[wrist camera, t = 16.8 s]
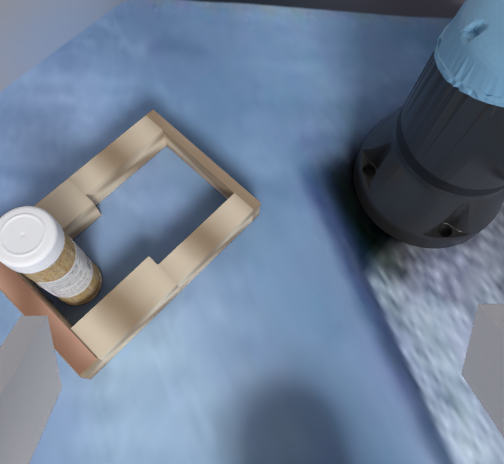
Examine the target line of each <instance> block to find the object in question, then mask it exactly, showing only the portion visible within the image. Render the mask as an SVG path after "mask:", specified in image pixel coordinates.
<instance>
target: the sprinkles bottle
mask: <svg viewBox="0 0 504 464" xmlns="http://www.w3.org/2000/svg"><path fill="white" fill-rule="evenodd" d="M0 262H2V263H3V264H4V265H6V266H7V267H9V268H10V269H12V270H14V271H16V272H19V273H23V274H24V275H26V276H27V277H28V278H29V279H31V280H33V281H34V282H36V283H37V284H38V285H39V286H40V287H42V288H43V289H45V290H46V291H48V292H49V293H51V294H53V295H54V296H57V297H58V298H59V299H60V300H61V301H62V302H64V303H66V304H69V305H82V304H86V303H88V302H90V301H91V300H93V299H94V298H95V297H96V296H97V294H98V293H99V291H100V289H101V286H102V275H101V272H100V270H99V268H98V267H97V266H96V265H95V264H94V263H93V262H91V261H90V259H89V258H88V257H87V255H86V254H85V253H84V252H83V251H82V250H81V249H80V248H79V247H78V245H77V244H76V243H75V242H74V241H73V240H72V239H71V238H70V237H69V236H68V235H66V234H65V233H64V232H63V229H62V227H61V225H60V224H59V223H58V222H57V220H56V219H55V218H54V217H53V216H51V215H50V214H49V213H48V212H47V211H45V210H43V209H41V208H38V207H34V206H22V207H18V208H15V209H12V210H10V211H8V212H7V213H5V214H4V215H3V216H2V217H1V218H0Z"/></svg>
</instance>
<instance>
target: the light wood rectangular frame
mask: <svg viewBox="0 0 504 464" xmlns="http://www.w3.org/2000/svg"><path fill="white" fill-rule="evenodd" d="M165 146H167V147H169V148H170V149H171V150H172V151H173V152H174V153H175V154H176V155H178V156H179V157H180V158H181V159H182V160H183V161H184V162H186V163H187V164H188V165H189V166H190V167H191V168H192V169H193V170H195V171H196V172H197V173H198V174H199V175H200V176H201V177H203V178H204V179H205V180H206V181H207V182H208V183H209V184H210V185H212V186H213V187H214V188H215V189H216V190H217V191H218V192H220V193H221V194H222V195H223V196H224V197H225V198H226V199H227V200H226V201H225V202H224V203H223V204H222V205H221V206H220V207H219V208H218V209H217V210H216V211H215V212H214V213H213V214H212V215H210V216H209V217H208V218H207V219H206V220H205V221H204V222H203V223H202V224H201V225H200V226H199V227H198V228H197V229H196V230H195V231H193V232H192V233H191V234H190V235H189V236H188V237H187V238H186V239H185V240H184V241H183V242H182V243H181V244H180V245H179V246H177V247H176V248H175V249H174V250H173V251H172V252H171V253H170V254H169V255H168V256H167V257H166V258H165V259H164V260H163V261H162V262H160V263H159V264H157V263H155V262H154V261H153V260H152V259H151V258H150V257H149V256H148V257H147V258H146V259H145V260H144V261H143V262H142V263H141V264H140V265H139V266H138V267H137V268H135V269H134V270H133V271H132V272H131V273H130V274H129V275H128V276H127V277H126V278H125V279H124V280H122V281H121V282H120V283H119V284H118V285H117V286H116V287H115V288H114V289H113V290H112V291H111V292H109V293H108V294H107V295H106V296H105V297H104V298H103V299H102V300H101V301H100V302H99V303H98V304H97V305H95V306H94V307H93V308H92V309H91V310H90V311H89V312H88V313H87V314H86V315H85V316H84V317H82V318H81V319H80V320H79V321H78V322H77V323H76V324H75V325H74V326H73V325H72V324H71V323H70V322H69V321H68V320H67V319H66V318H65V317H64V316H63V314H62V313H61V312H60V311H59V310H58V309H57V308H56V307H55V306H54V305H53V304H52V303H51V302H50V301H49V300H48V299H47V297H46V296H45V295H44V294H43V293H42V292H41V291H40V290H39V289H38V288H37V287H36V286H35V285H34V284H33V283H32V282H31V281H30V279H29V278H28V277H27V276H26V275H24V274H23V273H19V272H16V271H14V270H12V269H10V268H9V267H7V266H6V265H4V264H3V263H2V262H0V290H1V291H2V292H3V293H4V294H5V295H6V296H7V298H8V299H9V300H10V301H11V302H12V303H13V304H14V305H15V306H16V307H17V308H18V310H19V311H20V312H21V313H22V314H23V315H24V316H46V315H47V316H48V321H49V326H50V331H51V336H52V340H53V345H54V349H55V350H56V351H57V352H58V353H59V354H60V355H61V356H62V358H63V359H64V360H65V361H66V362H67V363H68V364H69V365H70V366H71V367H72V368H73V370H74V371H75V372H76V373H77V374H78V375H79V376H80V377H82V378H86V379H91V378H92V377H94V376H95V375H96V374H97V373H98V372H99V371H100V370H101V369H102V368H103V367H104V366H105V365H106V364H107V363H108V362H109V361H110V360H111V359H112V358H113V357H114V356H115V355H116V354H117V353H118V352H119V351H120V350H121V349H122V348H123V347H124V346H125V345H126V344H127V343H128V342H129V341H130V340H131V339H132V338H133V337H134V336H135V335H136V334H137V333H138V332H139V331H140V330H142V329H143V328H144V327H145V326H146V325H147V324H148V323H149V322H150V321H151V320H152V319H153V318H154V317H155V316H156V315H157V314H158V313H159V312H160V311H161V310H162V309H163V308H164V307H165V306H166V305H167V304H168V303H169V302H170V301H171V300H172V299H173V298H174V297H175V296H176V295H177V294H178V293H179V292H180V291H181V290H182V289H183V288H184V287H185V286H186V285H187V284H189V283H190V282H191V281H192V280H193V279H194V278H195V277H196V276H197V275H198V274H199V273H200V272H201V271H202V270H203V269H204V268H205V267H206V266H207V265H208V264H209V263H210V262H211V261H212V260H213V259H214V258H215V257H216V256H217V255H218V254H219V253H220V252H221V251H222V250H223V249H224V248H225V247H226V246H227V245H228V244H229V243H230V242H231V241H232V240H233V239H234V238H236V237H237V236H238V235H239V234H240V233H241V232H242V231H243V230H244V229H245V228H246V227H247V226H248V225H249V224H250V223H251V222H252V221H253V220H254V219H255V218H256V217H257V216H258V215H259V210H260V202H259V201H258V200H257V199H256V198H255V197H254V196H252V195H251V194H250V193H249V192H248V191H247V190H245V189H244V188H243V187H242V186H241V185H240V184H239V183H237V182H236V181H235V180H234V179H233V178H232V177H230V176H229V175H228V174H227V173H226V172H225V171H224V170H222V169H221V168H220V167H219V166H218V165H217V164H215V163H214V162H213V161H212V160H211V159H210V158H209V157H207V156H206V155H205V154H204V153H203V152H202V151H200V150H199V149H198V148H197V147H196V146H195V145H194V144H192V143H191V142H190V141H189V140H188V139H187V138H186V137H184V136H183V135H182V134H181V133H180V132H179V131H177V130H176V129H175V128H174V127H173V126H172V125H171V124H169V123H168V122H167V121H166V120H165V119H164V118H162V117H161V116H160V115H159V114H158V113H157V112H156V111H154V110H152V111H150V112H149V113H148V114H147V115H146V116H144V117H143V118H142V119H141V120H139V121H138V122H137V123H136V124H134V125H133V126H132V127H131V128H129V129H128V130H127V131H126V132H125V133H123V134H122V135H121V136H120V137H118V138H117V139H116V140H115V141H113V142H112V143H111V144H110V145H109V146H107V147H106V148H105V149H104V150H102V151H101V152H100V153H99V154H97V155H96V156H95V157H94V158H92V159H91V160H90V161H89V162H88V163H86V164H85V165H84V166H83V167H81V168H80V169H79V170H78V171H76V172H75V173H74V174H73V175H71V176H70V177H69V178H68V179H67V180H65V181H64V182H63V183H62V184H60V185H59V186H58V187H57V188H55V189H54V190H53V191H52V192H50V193H49V194H48V195H47V196H46V197H44V198H43V199H42V200H41V201H39V202H38V203H37V204H36V205H34V207H38V208H41V209H43V210H45V211H47V212H48V213H49V214H50V215H51V216H53V217H54V218H55V219H56V220H57V222H58V223H59V224H60V225H61V227H62V229H63V232H64V233H65V234H66V235H68V236H69V237H70V238H71V239H72V240H73V239H74V238H75V237H77V236H78V235H79V234H80V233H81V232H82V231H84V230H85V229H86V228H87V227H88V226H89V225H91V224H92V223H93V222H94V221H95V220H96V219H98V218H99V217H100V216H101V213H100V212H99V210H98V209H97V207H96V205H97V204H98V203H99V202H101V201H102V200H103V199H104V198H105V197H107V196H108V195H109V194H110V193H111V192H112V191H114V190H115V189H116V188H117V187H118V186H119V185H121V184H122V183H123V182H124V181H125V180H127V179H128V178H129V177H130V176H131V175H132V174H134V173H135V172H136V171H137V170H138V169H140V168H141V167H142V166H143V165H144V164H145V163H147V162H148V161H149V160H150V159H151V158H152V157H154V156H155V155H156V154H157V153H158V152H160V151H161V150H162V149H163V148H164V147H165Z"/></svg>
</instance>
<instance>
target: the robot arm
mask: <svg viewBox="0 0 504 464" xmlns="http://www.w3.org/2000/svg"><path fill="white" fill-rule="evenodd" d="M353 179H354V186H355V190H356V194H357V196H358V199H359V201H360V203H361V205H362V207H363V209H364V210H365V212H366V213H367V214H368V216H369V217H370V218H371V219H372V221H373V222H374V223H375V224H376V225H377V226H379V227H380V228H381V229H382V230H383V231H385V232H386V233H388V234H389V235H391V236H392V237H394V238H396V239H398V240H400V241H402V242H405V243H408V244H410V245H414V246H418V247H424V248H445V247H451V246H455V245H458V244H460V243H463V242H465V241H467V240H469V239H470V238H472V237H473V236H475V235H476V234H477V233H479V232H480V231H481V230H483V229H484V228H485V227H486V226H487V225H489V223H490V222H491V221H492V220H493V219H494V218H495V216H496V215H497V213H498V212H499V210H500V208H501V206H502V203H503V201H504V0H465V2H464V3H463V5H462V7H461V8H460V9H459V11H458V12H457V14H456V15H455V17H454V18H453V20H452V21H451V22H450V23H449V24H448V25H447V26H446V27H445V28H444V30H443V31H442V32H441V34H440V36H439V38H438V40H437V44H436V47H435V50H434V52H433V54H432V55H431V57H430V59H429V61H428V63H427V64H426V66H425V68H424V70H423V71H422V73H421V75H420V77H419V79H418V80H417V82H416V84H415V86H414V88H413V89H412V91H411V93H410V95H409V96H408V98H407V100H406V102H405V103H404V105H403V106H402V107H401V108H399V109H398V110H396V111H395V112H393V113H392V114H390V115H389V116H387V117H386V118H385V119H383V120H382V121H380V122H379V123H378V124H377V125H376V126H375V127H374V128H373V129H372V130H371V131H370V132H369V134H368V135H367V136H366V138H365V139H364V141H363V143H362V145H361V147H360V149H359V151H358V154H357V156H356V159H355V163H354V170H353ZM462 376H463V377H464V379H465V380H466V382H467V383H468V385H469V386H470V388H471V389H472V391H473V392H474V394H475V395H476V397H477V398H478V400H479V401H480V403H481V404H482V406H483V407H484V409H485V410H486V412H487V413H488V415H489V416H490V418H491V419H492V421H493V422H494V424H495V425H496V427H497V428H498V430H499V431H500V433H501V434H502V436H503V437H504V305H503V304H478V308H477V312H476V316H475V320H474V324H473V328H472V333H471V337H470V341H469V345H468V349H467V353H466V358H465V362H464V366H463V370H462ZM61 389H62V385H61V380H60V375H59V370H58V365H57V360H56V355H55V350H54V345H53V340H52V336H51V331H50V326H49V321H48V316H47V315H46V316H21V317H20V318H19V320H18V321H17V323H16V324H15V326H14V327H13V329H12V330H11V332H10V333H9V335H8V336H7V338H6V339H5V341H4V342H3V344H2V345H1V347H0V464H29V463H30V461H31V458H32V456H33V454H34V452H35V449H36V447H37V445H38V442H39V440H40V438H41V435H42V433H43V431H44V428H45V426H46V424H47V421H48V419H49V417H50V414H51V412H52V410H53V408H54V405H55V403H56V401H57V398H58V396H59V394H60V391H61Z"/></svg>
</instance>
